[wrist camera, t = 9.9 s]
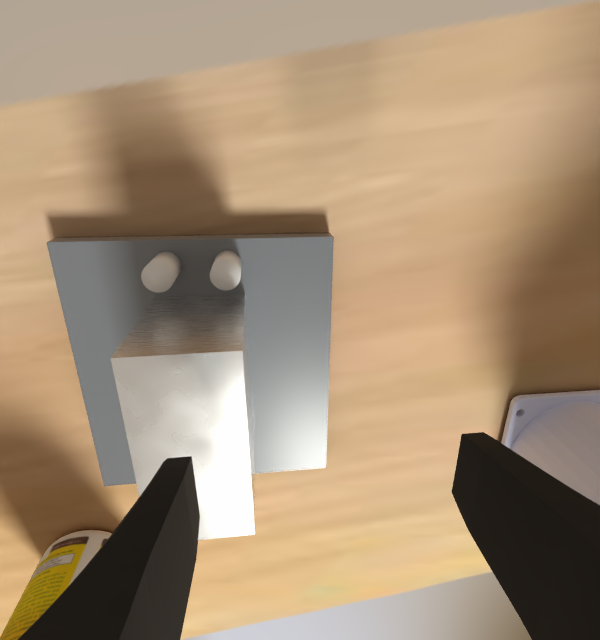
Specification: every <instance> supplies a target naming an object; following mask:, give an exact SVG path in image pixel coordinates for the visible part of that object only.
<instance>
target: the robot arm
mask: <svg viewBox="0 0 600 640" xmlns="http://www.w3.org/2000/svg"><path fill="white" fill-rule="evenodd" d="M518 410H520V411H518ZM517 411H518V412H517ZM452 494H453V496H454V498H455V501H456V503H457V506H458V508H459V510H460V513H461V515H462V517H463V519H464V521H465V524H466V526H467V528H468V530H469V532H470V534H471V535H472V537H473V539H474V541H475V542H476V544H477V546H478V547H479V549H480V551H481V553H482V554H483V556H484V558H485V559H486V561H487V563H488V564H489V566H490V568H491V570H492V571H493V573H494V575H495V576H496V578H497V579H498V581H499V583H500V585H501V586H502V588H503V590H504V591H505V593H506V595H507V596H508V598H509V600H510V601H511V603H512V605H513V606H514V608H515V610H516V612H517V613H518V615H519V617H520V618H521V620H522V622H523V624H524V626H525V627H526V629H527V631H528V633H529V635H530V637H531V638H532V640H600V390H590V391H574V392H559V393H544V394H529V395H518V396H516V397H514V398H513V399H512V401H511V403H510V407H509V411H508V416H507V420H506V424H505V428H504V433H503V437H502V441H501V443H500V442H499V441H497V440H495V439H494V438H492V437H490V436H489V435H487V434H485V433H483V432H482V433H469V434H462V436H461V442H460V448H459V454H458V459H457V465H456V471H455V477H454V482H453V488H452ZM199 522H200V513H199V506H198V499H197V491H196V484H195V477H194V470H193V463H192V456H188V457H176V458H167V459H166V460H165V461H164V462H163V463H162V465H161V466H160V468H159V469H158V471H157V472H156V474H155V475H154V477H153V478H152V480H151V481H150V483H149V484H148V486H147V487H146V489H145V490H144V491H143V493H142V494H141V496H140V497H139V498H138V500H137V501H136V503H135V504H134V505H133V507H132V508H131V509H130V511H129V512H128V513H127V515H126V516H125V517H124V519H123V520H122V522H121V523H120V524H119V526H118V527H117V528H116V530H115V531H114V532H113V533H112V535H111V536H110V537H109V538H108V540H107V541H106V542H105V543H104V545H103V546H102V547H101V548H100V549H99V551H98V552H97V553H96V554H95V556H94V557H93V558H92V559H91V560H90V562H89V563H88V564H87V565H86V567H85V568H84V569H83V570H82V571H81V572H80V574H79V575H78V576H77V577H76V578H75V579H74V580H73V582H72V583H71V584H70V585H69V586H68V587H67V588H66V589H65V590H64V592H63V593H62V594H61V595H60V596H59V597H58V598H57V599H56V600H55V601H54V602H53V604H52V605H51V606H50V607H49V608H48V609H47V610H46V611H45V612H44V613H43V614H42V615H41V616H40V617H39V618H38V619H37V620H36V621H35V622H34V623H33V624H32V625H31V626H30V627H29V628H28V629H27V630H26V631H25V632H24V633H23V635H22V636H21V637H20V638H19V639H18V640H180V638H181V633H182V628H183V623H184V618H185V613H186V608H187V603H188V598H189V593H190V587H191V582H192V577H193V572H194V567H195V562H196V554H197V544H198V534H199Z"/></svg>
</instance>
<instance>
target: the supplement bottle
mask: <svg viewBox="0 0 600 640" xmlns="http://www.w3.org/2000/svg"><path fill="white" fill-rule="evenodd" d="M111 535H112V533H110V532H105V531H99V530H84V531H78V532H74V533H70V534H68V535H65V536H63V537H61V538H60V539H58V540H57V541H55V542H54V543H53V544H52V545H51V546H50V547H49V548H48V549H47V550H46V552H45V553H44V555H43V557H42V558H41V560H40V562H39V564H38V566H37V568H36V570H35V571H34V573H33V575H32V577H31V579H30V581H29V583H28V585H27V587H26V589H25V591H24V593H23V595H22V597H21V599H20V600H19V602H18V604H17V606H16V608H15V610H14V612H13V614H12V616H11V618H10V619H9V622H8V624H7V625H6V627H5V629H4V631H3V633H2V635H1V637H0V640H18V639H19V638H20V637H21V636H22V635H23V633H24V632H25V631H26V630H27V629H28V628H29V627H30V626H31V625H32V624H33V623H34V622H35V621H36V620H37V619H38V618H39V617H40V616H41V615H42V614H43V613H44V612H45V611H46V610H47V609H48V608H49V607H50V606H51V605H52V604H53V602H54V601H55V600H56V599H57V598H58V597H59V596H60V595H61V594H62V593H63V592H64V590H65V589H66V588H67V587H68V586H69V585H70V584H71V583H72V582H73V580H74V579H75V578H76V577H77V576H78V575H79V574H80V572H81V571H82V570H83V569H84V568H85V567H86V565H87V564H88V563H89V562H90V560H91V559H92V558H93V557H94V556H95V554H96V553H97V552H98V551H99V549H100V548H101V547H102V546H103V545H104V543H105V542H106V541H107V540H108V538H109V537H110V536H111Z"/></svg>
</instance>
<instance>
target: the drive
mask: <svg viewBox="0 0 600 640" xmlns="http://www.w3.org/2000/svg"><path fill="white" fill-rule="evenodd" d="M111 363H112V368H113V372H114V377H115V382H116V387H117V392H118V396H119V401H120V406H121V411H122V416H123V420H124V425H125V430H126V435H127V440H128V444H129V449H130V454H131V459H132V464H133V469H134V473H135V478H136V483H137V488H138V493H139V497H140V496H141V494H142V493H143V491H144V490H145V489H146V487H147V486H148V484H149V483H150V481H151V480H152V478H153V477H154V475H155V474H156V472H157V471H158V469H159V468H160V466H161V465H162V463H163V462H164V461H165V460H166V459H167V458H176V457H188V456H192V463H193V470H194V477H195V484H196V491H197V499H198V506H199V513H200V522H199V534H198V540H205V539H215V538H224V537H234V536H243V535H253V534H255V496H254V431H253V414H252V398H251V382H250V365H249V349H248V333H247V317H246V300H245V293H226V294H202V295H178V296H155V297H154V298H153V299H152V301H151V302H150V304H149V305H148V306H147V308H146V309H145V311H144V312H143V313H142V315H141V316H140V318H139V319H138V320H137V322H136V323H135V325H134V326H133V327H132V329H131V330H130V332H129V333H128V334H127V336H126V337H125V339H124V340H123V341H122V343H121V344H120V346H119V347H118V348H117V350H116V351H115V353H114V354H113V355H112V357H111Z"/></svg>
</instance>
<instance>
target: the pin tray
mask: <svg viewBox="0 0 600 640" xmlns="http://www.w3.org/2000/svg"><path fill="white" fill-rule="evenodd" d="M333 240H334V237H333V236H332V235H331V234H330V233H300V234H245V235H189V236H133V237H78V238H56V239H53V240H51V241H48V242H47V246H48V250H49V255H50V259H51V263H52V267H53V271H54V276H55V280H56V284H57V288H58V293H59V297H60V301H61V305H62V310H63V314H64V318H65V322H66V326H67V331H68V335H69V339H70V343H71V348H72V352H73V356H74V360H75V364H76V369H77V373H78V377H79V381H80V386H81V390H82V394H83V398H84V402H85V407H86V411H87V415H88V419H89V424H90V428H91V432H92V436H93V441H94V445H95V449H96V453H97V457H98V462H99V466H100V470H101V474H102V479H103V483H104V486H111V485H123V484H135V483H136V478H135V473H134V469H133V464H132V459H131V454H130V449H129V444H128V440H127V435H126V430H125V425H124V420H123V416H122V411H121V406H120V401H119V396H118V392H117V387H116V382H115V377H114V372H113V368H112V363H111V357H112V355H113V354H114V353H115V351H116V350H117V348H118V347H119V346H120V344H121V343H122V341H123V340H124V339H125V337H126V336H127V334H128V333H129V332H130V330H131V329H132V327H133V326H134V325H135V323H136V322H137V320H138V319H139V318H140V316H141V315H142V313H143V312H144V311H145V309H146V308H147V306H148V305H149V304H150V302H151V301H152V299H153V298H154V297H155V296H178V295H202V294H226V293H245V300H246V317H247V333H248V349H249V365H250V382H251V398H252V414H253V431H254V474H257V473H269V472H281V471H293V470H305V469H317V468H326V452H327V422H328V392H329V361H330V331H331V300H332V270H333Z"/></svg>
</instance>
